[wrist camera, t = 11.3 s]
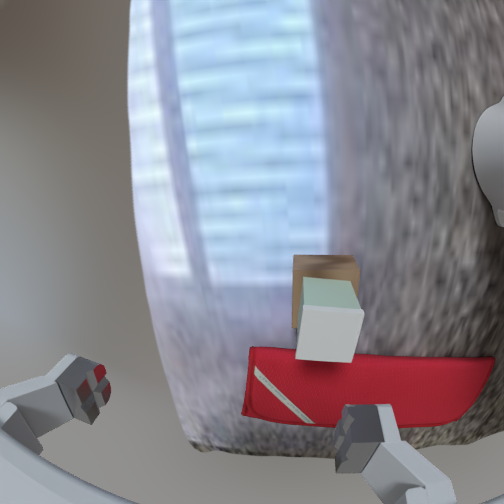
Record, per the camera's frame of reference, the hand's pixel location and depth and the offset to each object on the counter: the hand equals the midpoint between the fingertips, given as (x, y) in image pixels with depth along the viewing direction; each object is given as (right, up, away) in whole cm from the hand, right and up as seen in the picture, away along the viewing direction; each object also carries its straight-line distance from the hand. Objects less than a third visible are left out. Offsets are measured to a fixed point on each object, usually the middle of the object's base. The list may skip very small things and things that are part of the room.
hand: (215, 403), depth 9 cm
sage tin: (+9, 0, +22) cm, 24 cm away
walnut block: (+10, +1, +27) cm, 29 cm away
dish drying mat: (+21, -16, +32) cm, 41 cm away
